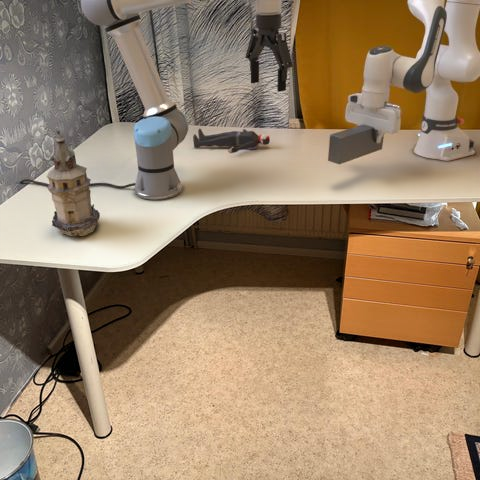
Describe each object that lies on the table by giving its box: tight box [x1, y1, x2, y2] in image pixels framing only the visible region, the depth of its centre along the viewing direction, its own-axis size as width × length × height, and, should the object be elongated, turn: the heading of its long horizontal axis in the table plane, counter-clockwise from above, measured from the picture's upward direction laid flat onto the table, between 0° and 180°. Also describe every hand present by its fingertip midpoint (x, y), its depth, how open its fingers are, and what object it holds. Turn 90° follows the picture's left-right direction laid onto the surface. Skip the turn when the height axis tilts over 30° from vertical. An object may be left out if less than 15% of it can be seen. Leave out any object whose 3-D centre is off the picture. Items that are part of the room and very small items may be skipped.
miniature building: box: [46, 129, 101, 237], centre depth 148 cm, size 13×14×30 cm
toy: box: [192, 128, 271, 155], centre depth 214 cm, size 26×6×30 cm
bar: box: [327, 125, 385, 166], centre depth 177 cm, size 23×5×9 cm, turn 131°
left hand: (267, 86), depth 167 cm, fingers open, 13 cm apart
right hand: (369, 140), depth 181 cm, fingers closed on bar, 5 cm apart
